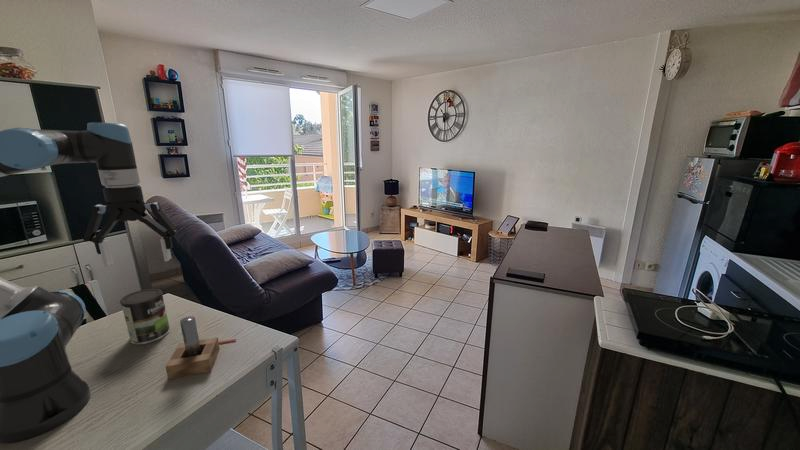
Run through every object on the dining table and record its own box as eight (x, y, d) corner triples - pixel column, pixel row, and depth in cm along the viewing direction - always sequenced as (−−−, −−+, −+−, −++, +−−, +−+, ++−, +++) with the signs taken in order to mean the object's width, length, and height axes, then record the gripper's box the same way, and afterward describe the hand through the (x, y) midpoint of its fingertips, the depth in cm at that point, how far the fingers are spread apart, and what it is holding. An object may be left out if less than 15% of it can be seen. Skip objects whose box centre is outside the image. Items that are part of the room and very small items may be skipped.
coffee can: (177, 325, 105) (170, 288, 101) (153, 345, 95) (144, 304, 91) (148, 325, 105) (139, 287, 101) (121, 344, 95) (110, 303, 91)
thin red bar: (184, 349, 93) (184, 348, 93) (185, 347, 94) (185, 346, 94) (235, 341, 97) (235, 340, 97) (236, 339, 98) (236, 338, 98)
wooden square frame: (168, 379, 82) (165, 366, 81) (181, 354, 91) (179, 343, 90) (210, 371, 85) (208, 359, 83) (219, 348, 94) (217, 337, 93)
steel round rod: (186, 368, 86) (177, 324, 82) (190, 360, 89) (182, 317, 85) (200, 365, 87) (192, 322, 83) (204, 357, 90) (196, 315, 86)
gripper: (48, 189, 72) (73, 272, 78) (172, 186, 79) (186, 262, 85) (70, 185, 79) (91, 261, 85) (182, 182, 86) (195, 253, 92)
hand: (139, 262), depth 85 cm, fingers open, 13 cm apart
